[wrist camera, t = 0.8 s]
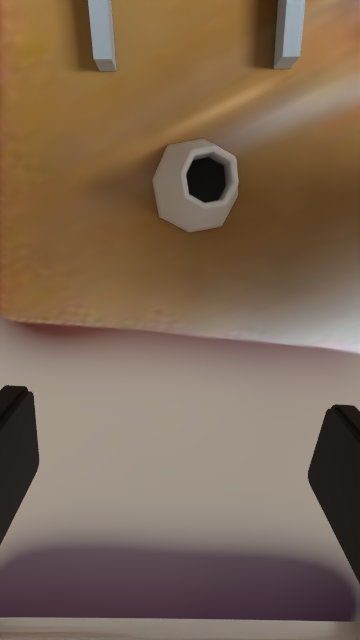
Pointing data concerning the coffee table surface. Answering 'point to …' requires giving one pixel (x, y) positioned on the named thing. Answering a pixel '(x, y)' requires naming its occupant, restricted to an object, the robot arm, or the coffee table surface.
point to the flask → (196, 185)
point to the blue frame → (285, 42)
